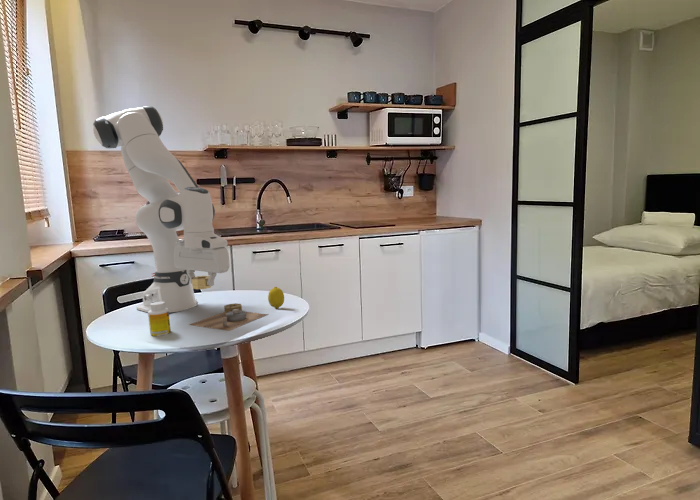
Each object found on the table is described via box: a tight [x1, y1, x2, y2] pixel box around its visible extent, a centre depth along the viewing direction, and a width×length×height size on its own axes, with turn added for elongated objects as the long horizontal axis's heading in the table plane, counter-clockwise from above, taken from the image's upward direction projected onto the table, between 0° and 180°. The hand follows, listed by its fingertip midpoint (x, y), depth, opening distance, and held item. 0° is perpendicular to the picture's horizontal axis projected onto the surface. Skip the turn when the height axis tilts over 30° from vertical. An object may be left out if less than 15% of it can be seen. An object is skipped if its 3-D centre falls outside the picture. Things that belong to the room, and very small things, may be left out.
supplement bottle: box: [147, 301, 172, 337], centre depth 134 cm, size 6×6×10 cm
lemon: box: [267, 286, 285, 310], centre depth 159 cm, size 6×6×8 cm
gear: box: [192, 275, 212, 290], centre depth 142 cm, size 6×6×3 cm
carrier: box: [188, 303, 269, 332], centre depth 145 cm, size 17×18×4 cm
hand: (202, 284), depth 142 cm, fingers closed on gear, 5 cm apart
